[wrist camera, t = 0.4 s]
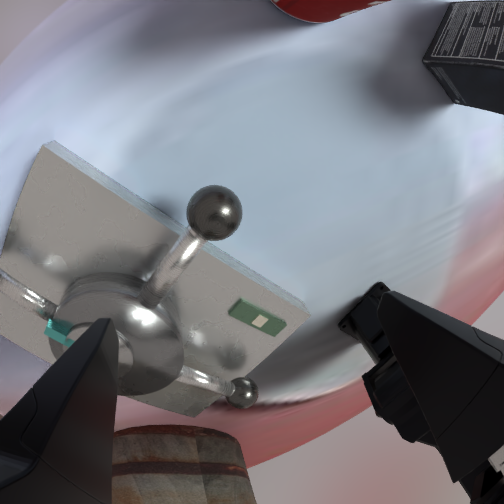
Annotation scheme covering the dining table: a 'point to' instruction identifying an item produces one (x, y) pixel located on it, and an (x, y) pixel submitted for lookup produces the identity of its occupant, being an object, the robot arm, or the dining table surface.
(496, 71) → the small box
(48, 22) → the dining table surface
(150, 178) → the dining table surface
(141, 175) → the dining table surface
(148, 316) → the capstan
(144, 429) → the barrel
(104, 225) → the stand
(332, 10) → the soda can
